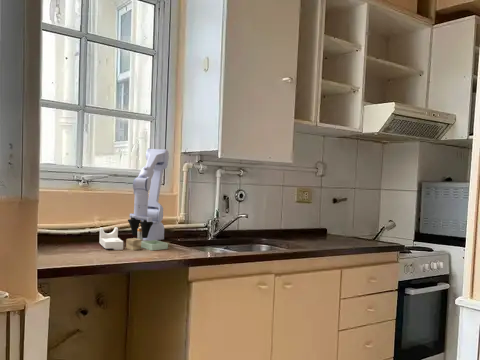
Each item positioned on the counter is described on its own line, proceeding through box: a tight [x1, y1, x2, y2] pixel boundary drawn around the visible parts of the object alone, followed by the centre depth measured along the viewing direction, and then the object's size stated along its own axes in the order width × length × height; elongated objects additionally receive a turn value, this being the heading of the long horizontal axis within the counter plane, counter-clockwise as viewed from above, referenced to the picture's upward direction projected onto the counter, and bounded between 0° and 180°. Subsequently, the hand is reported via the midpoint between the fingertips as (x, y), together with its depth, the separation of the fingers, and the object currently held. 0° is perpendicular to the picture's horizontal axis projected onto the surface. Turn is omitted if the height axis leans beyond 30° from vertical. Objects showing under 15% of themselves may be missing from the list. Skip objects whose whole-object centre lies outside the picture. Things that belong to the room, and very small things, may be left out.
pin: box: [136, 228, 143, 241], centre depth 199 cm, size 2×2×7 cm
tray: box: [141, 240, 169, 251], centre depth 194 cm, size 8×9×2 cm
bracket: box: [98, 226, 124, 251], centre depth 192 cm, size 13×7×8 cm, turn 27°
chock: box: [125, 237, 142, 251], centre depth 190 cm, size 4×5×4 cm
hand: (139, 236), depth 199 cm, fingers open, 7 cm apart
